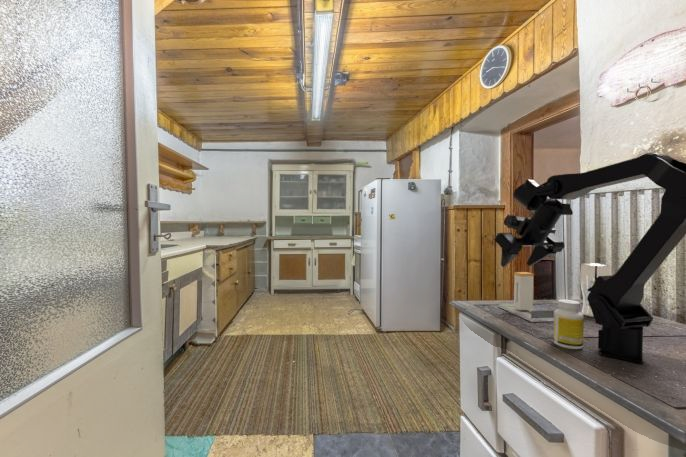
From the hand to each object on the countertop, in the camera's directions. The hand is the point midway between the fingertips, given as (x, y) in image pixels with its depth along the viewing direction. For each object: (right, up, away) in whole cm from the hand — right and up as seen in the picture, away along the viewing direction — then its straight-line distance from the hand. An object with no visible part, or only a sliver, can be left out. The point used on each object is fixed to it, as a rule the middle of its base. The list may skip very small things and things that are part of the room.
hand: (515, 265), depth 93 cm
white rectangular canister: (+5, -13, +4) cm, 15 cm away
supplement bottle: (0, -15, -21) cm, 26 cm away
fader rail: (+5, -15, +4) cm, 16 cm away
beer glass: (+25, -15, +3) cm, 29 cm away
